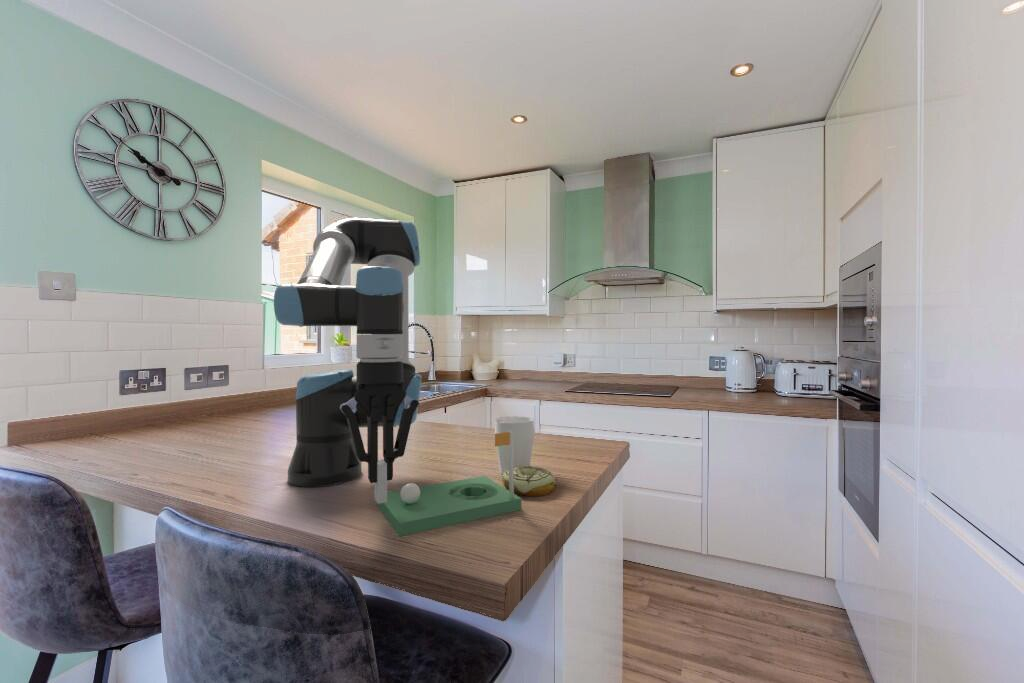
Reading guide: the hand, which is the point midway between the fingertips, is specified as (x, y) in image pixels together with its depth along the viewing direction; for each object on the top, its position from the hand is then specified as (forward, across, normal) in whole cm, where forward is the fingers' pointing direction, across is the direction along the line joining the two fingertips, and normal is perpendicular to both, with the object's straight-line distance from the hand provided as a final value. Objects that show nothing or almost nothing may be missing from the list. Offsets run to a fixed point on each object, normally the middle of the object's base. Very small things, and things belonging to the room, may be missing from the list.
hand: (380, 500), depth 76 cm
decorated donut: (+4, +30, +2) cm, 30 cm away
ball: (0, +5, 0) cm, 5 cm away
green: (+3, +12, 0) cm, 13 cm away
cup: (+4, +33, +13) cm, 36 cm away
